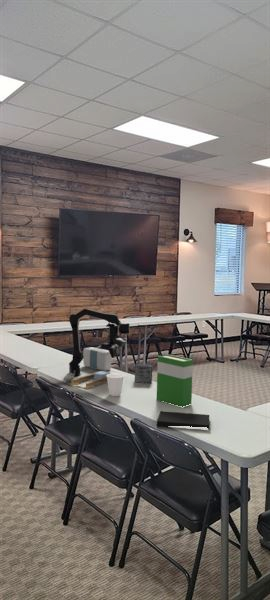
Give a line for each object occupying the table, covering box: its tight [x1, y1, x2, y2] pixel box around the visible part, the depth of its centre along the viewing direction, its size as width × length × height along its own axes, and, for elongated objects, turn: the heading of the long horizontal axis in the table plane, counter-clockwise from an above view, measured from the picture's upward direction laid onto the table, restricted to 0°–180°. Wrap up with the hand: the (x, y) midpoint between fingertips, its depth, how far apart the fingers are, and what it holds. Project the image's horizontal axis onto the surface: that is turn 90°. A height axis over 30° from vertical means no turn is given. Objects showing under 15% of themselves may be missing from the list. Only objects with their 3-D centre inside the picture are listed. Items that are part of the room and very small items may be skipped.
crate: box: [93, 370, 111, 381], centre depth 278 cm, size 7×7×5 cm
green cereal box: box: [156, 353, 194, 407], centre depth 235 cm, size 18×7×24 cm, turn 45°
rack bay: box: [69, 372, 108, 390], centre depth 270 cm, size 13×25×3 cm, turn 146°
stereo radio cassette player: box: [82, 345, 112, 372], centre depth 307 cm, size 21×8×20 cm, turn 49°
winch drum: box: [65, 371, 76, 384], centre depth 270 cm, size 6×4×8 cm
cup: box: [106, 372, 125, 397], centre depth 246 cm, size 10×10×11 cm
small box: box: [133, 363, 153, 384], centre depth 275 cm, size 11×6×10 cm, turn 84°
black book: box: [156, 410, 210, 429], centre depth 205 cm, size 14×23×3 cm, turn 80°
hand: (112, 357), depth 286 cm, fingers closed
